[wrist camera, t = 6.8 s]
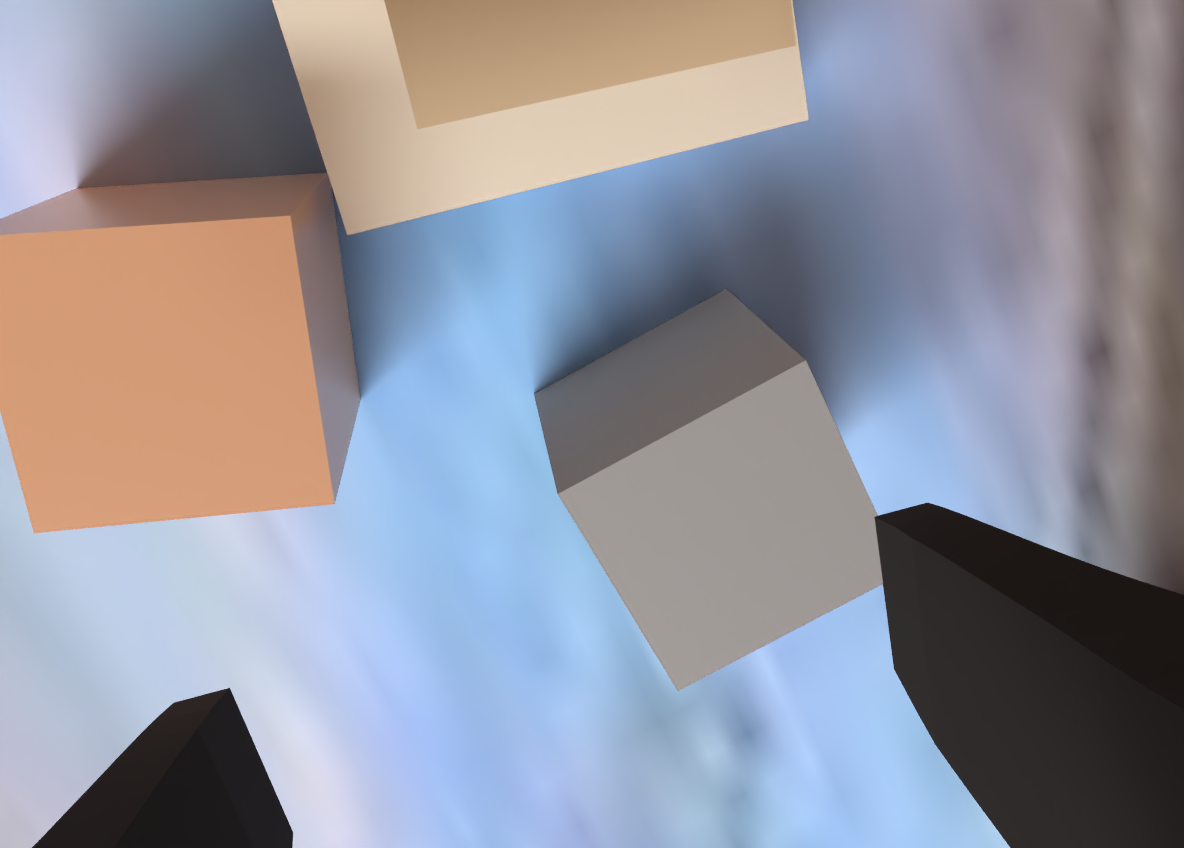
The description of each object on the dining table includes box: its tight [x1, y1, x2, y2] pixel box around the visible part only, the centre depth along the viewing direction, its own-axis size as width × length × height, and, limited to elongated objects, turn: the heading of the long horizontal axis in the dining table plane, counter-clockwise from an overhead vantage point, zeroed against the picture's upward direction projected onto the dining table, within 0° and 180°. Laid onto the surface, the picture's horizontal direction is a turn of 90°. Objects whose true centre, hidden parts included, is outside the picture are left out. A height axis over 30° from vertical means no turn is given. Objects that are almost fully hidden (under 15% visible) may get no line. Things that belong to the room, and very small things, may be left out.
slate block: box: [534, 289, 883, 691], centre depth 19 cm, size 4×4×5 cm
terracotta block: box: [0, 173, 361, 533], centre depth 17 cm, size 4×4×5 cm
